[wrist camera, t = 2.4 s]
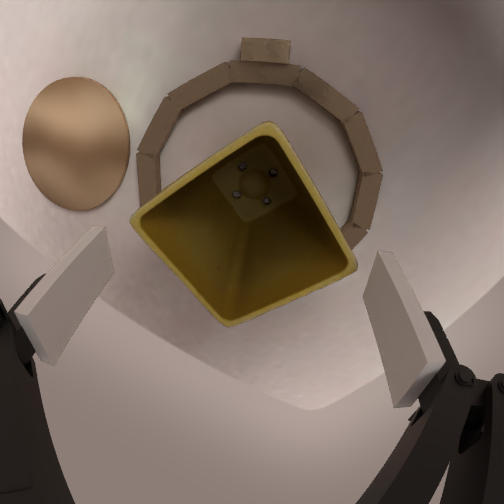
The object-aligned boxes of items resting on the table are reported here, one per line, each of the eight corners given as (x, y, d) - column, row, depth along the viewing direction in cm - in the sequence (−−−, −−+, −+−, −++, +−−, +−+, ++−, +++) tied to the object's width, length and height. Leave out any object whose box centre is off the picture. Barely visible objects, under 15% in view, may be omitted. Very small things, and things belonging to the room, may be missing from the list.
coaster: (22, 90, 18) (18, 91, 18) (128, 66, 18) (125, 66, 17) (37, 206, 25) (33, 208, 24) (135, 210, 24) (132, 213, 24)
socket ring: (141, 45, 17) (131, 44, 15) (395, 63, 16) (403, 63, 15) (155, 283, 28) (150, 293, 27) (343, 302, 28) (346, 314, 26)
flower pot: (335, 203, 22) (362, 272, 15) (241, 252, 26) (225, 331, 18) (274, 103, 19) (272, 117, 11) (176, 167, 22) (124, 219, 14)
